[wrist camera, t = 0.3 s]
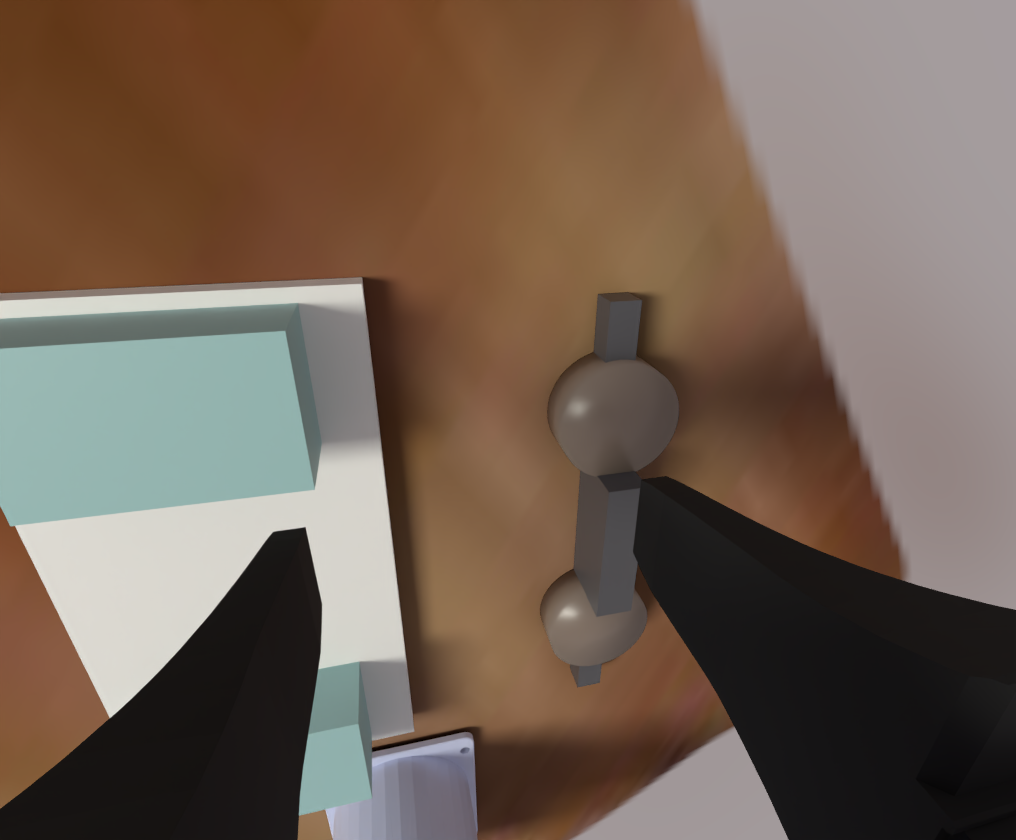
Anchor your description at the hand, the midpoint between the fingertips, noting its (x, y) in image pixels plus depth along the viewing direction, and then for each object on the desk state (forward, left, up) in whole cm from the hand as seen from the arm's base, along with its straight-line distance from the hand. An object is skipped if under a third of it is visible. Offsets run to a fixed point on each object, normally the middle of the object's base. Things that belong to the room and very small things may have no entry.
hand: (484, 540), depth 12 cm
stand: (-7, +8, -10) cm, 15 cm away
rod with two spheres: (-7, -7, -10) cm, 14 cm away
